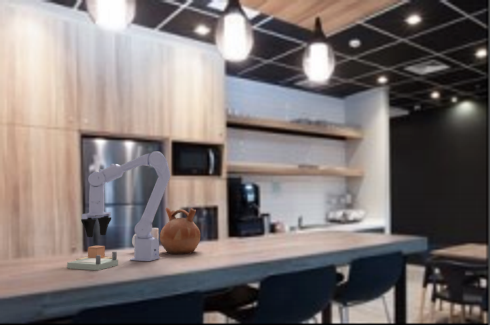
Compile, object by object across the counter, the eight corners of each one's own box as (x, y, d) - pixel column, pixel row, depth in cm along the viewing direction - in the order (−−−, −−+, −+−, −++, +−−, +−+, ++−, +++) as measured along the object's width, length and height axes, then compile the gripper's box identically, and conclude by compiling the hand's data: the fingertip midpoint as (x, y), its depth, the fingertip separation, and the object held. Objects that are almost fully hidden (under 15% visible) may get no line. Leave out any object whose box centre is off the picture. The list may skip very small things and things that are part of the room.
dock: (118, 264, 158) (118, 251, 158) (98, 270, 147) (98, 256, 148) (88, 263, 163) (88, 250, 163) (67, 268, 152) (67, 254, 153)
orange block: (104, 257, 168) (104, 246, 168) (97, 259, 164) (97, 247, 164) (95, 256, 170) (95, 245, 170) (87, 258, 166) (87, 247, 166)
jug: (150, 254, 183) (151, 208, 184) (173, 248, 199) (173, 206, 201) (187, 256, 176) (187, 208, 177) (207, 250, 192) (207, 206, 194)
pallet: (116, 259, 169) (116, 256, 169) (100, 263, 160) (101, 260, 161) (92, 258, 173) (92, 255, 173) (76, 262, 165) (76, 258, 165)
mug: (133, 253, 185) (133, 230, 186) (130, 251, 193) (130, 228, 193) (160, 251, 191) (160, 228, 191) (155, 249, 198) (155, 227, 199)
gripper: (101, 201, 177) (100, 233, 176) (75, 202, 163) (75, 237, 162) (114, 201, 174) (114, 234, 173) (90, 202, 161) (89, 238, 160)
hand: (96, 236), depth 168 cm, fingers open, 7 cm apart
